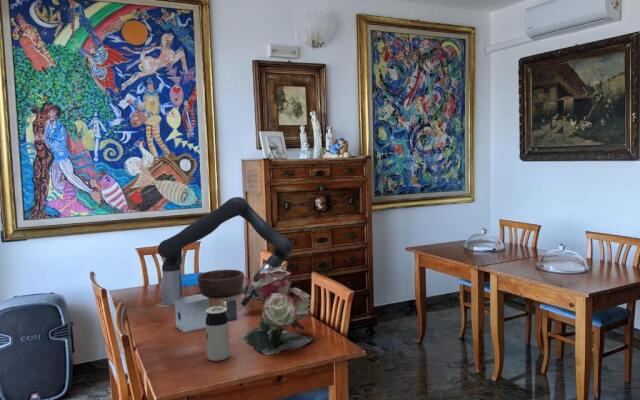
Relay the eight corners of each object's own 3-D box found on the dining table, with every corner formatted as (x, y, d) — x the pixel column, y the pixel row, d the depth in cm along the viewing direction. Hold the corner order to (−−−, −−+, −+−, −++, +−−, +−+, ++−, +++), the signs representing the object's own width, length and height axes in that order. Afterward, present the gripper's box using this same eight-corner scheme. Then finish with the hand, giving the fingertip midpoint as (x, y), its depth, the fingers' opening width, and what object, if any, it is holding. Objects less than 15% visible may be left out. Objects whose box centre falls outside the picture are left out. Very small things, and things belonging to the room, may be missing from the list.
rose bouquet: (269, 360, 187) (265, 278, 184) (237, 337, 211) (233, 265, 209) (328, 344, 200) (326, 268, 198) (291, 325, 225) (289, 256, 222)
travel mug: (230, 352, 195) (228, 305, 193) (227, 361, 187) (225, 312, 185) (209, 353, 195) (207, 306, 193) (205, 362, 187) (203, 313, 185)
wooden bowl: (194, 291, 289) (193, 272, 288) (237, 285, 300) (236, 267, 299) (203, 301, 267) (202, 282, 266) (250, 294, 277) (249, 276, 276)
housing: (184, 332, 219) (182, 303, 218) (176, 326, 228) (174, 298, 227) (210, 326, 226) (209, 298, 225) (202, 321, 234) (200, 293, 233)
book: (161, 277, 309) (202, 271, 321) (161, 284, 309) (202, 278, 322) (168, 283, 294) (210, 276, 306) (168, 290, 294) (211, 283, 307)
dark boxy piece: (198, 326, 225) (197, 307, 224) (193, 323, 230) (192, 304, 229) (237, 318, 235) (236, 299, 234) (231, 315, 240) (230, 297, 239)
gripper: (253, 268, 249) (231, 297, 244) (266, 272, 239) (243, 303, 233) (263, 277, 253) (241, 306, 247) (276, 282, 242) (254, 313, 236)
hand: (242, 305), depth 240 cm, fingers closed
